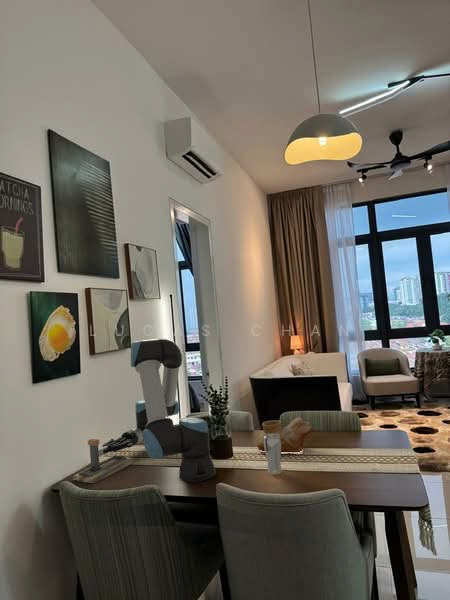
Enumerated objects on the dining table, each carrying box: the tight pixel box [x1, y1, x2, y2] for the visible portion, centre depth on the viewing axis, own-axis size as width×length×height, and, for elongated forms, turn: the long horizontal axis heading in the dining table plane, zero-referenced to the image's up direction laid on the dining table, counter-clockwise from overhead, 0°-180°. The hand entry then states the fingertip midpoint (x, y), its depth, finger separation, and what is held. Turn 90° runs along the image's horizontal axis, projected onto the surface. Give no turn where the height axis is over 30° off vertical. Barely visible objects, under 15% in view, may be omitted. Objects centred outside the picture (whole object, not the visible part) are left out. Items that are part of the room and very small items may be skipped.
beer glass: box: [264, 433, 283, 473], centre depth 174 cm, size 7×7×15 cm
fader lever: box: [87, 438, 101, 472], centre depth 185 cm, size 5×2×13 cm, turn 62°
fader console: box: [72, 454, 133, 484], centre depth 189 cm, size 12×24×3 cm, turn 152°
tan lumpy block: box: [256, 416, 313, 452], centre depth 199 cm, size 14×26×15 cm, turn 80°
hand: (96, 453), depth 187 cm, fingers closed
